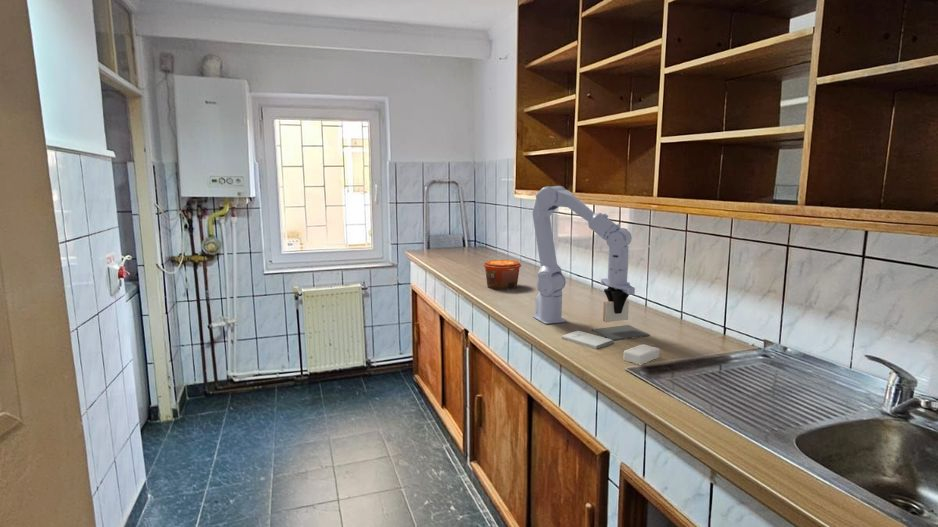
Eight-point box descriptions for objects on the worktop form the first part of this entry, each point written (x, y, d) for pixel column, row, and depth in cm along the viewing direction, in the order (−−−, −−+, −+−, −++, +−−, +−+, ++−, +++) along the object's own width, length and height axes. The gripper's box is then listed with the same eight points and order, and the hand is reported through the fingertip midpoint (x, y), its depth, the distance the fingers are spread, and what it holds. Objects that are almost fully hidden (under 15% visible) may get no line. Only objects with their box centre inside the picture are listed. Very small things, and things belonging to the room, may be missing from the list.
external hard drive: (596, 351, 144) (561, 340, 153) (613, 345, 149) (578, 334, 159) (596, 345, 144) (561, 335, 153) (613, 339, 149) (578, 329, 158)
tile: (603, 320, 159) (603, 301, 158) (625, 318, 161) (625, 299, 160) (605, 322, 157) (606, 303, 156) (628, 319, 160) (628, 300, 159)
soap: (640, 367, 132) (640, 355, 131) (622, 361, 136) (622, 350, 135) (660, 359, 137) (660, 348, 136) (642, 353, 141) (642, 342, 141)
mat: (591, 330, 161) (591, 329, 161) (628, 326, 165) (628, 324, 165) (611, 340, 151) (611, 339, 151) (649, 335, 155) (649, 334, 155)
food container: (502, 281, 234) (503, 257, 232) (528, 287, 222) (528, 262, 220) (476, 286, 224) (475, 261, 222) (501, 292, 212) (501, 267, 210)
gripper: (644, 272, 151) (642, 317, 154) (614, 264, 165) (613, 305, 167) (623, 273, 149) (621, 319, 151) (595, 265, 162) (594, 307, 165)
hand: (616, 312), depth 159 cm, fingers closed on tile, 1 cm apart
